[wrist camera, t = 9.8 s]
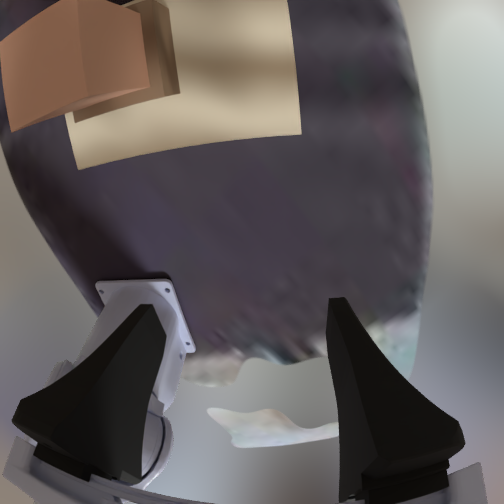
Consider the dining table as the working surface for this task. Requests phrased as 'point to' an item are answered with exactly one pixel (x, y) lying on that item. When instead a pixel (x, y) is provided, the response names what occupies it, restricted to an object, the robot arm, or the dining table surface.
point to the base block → (157, 60)
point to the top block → (71, 60)
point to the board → (207, 85)
